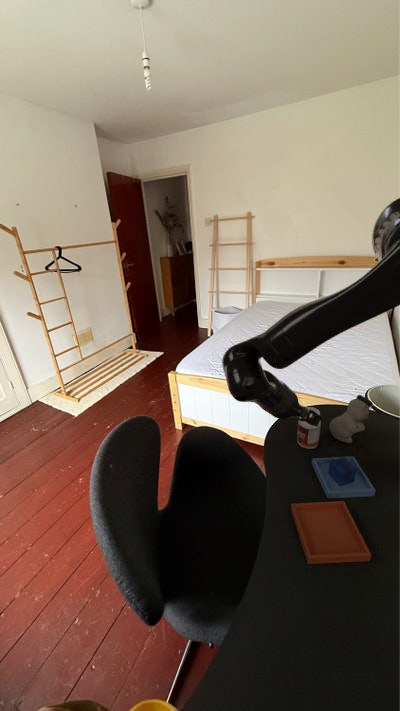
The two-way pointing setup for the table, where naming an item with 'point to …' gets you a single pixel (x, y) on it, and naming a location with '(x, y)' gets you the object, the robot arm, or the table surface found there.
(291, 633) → the table surface
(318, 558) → the terracotta tray
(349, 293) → the robot arm
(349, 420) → the figurine
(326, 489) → the blue tray
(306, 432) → the pill bottle
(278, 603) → the table surface
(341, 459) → the blue block
